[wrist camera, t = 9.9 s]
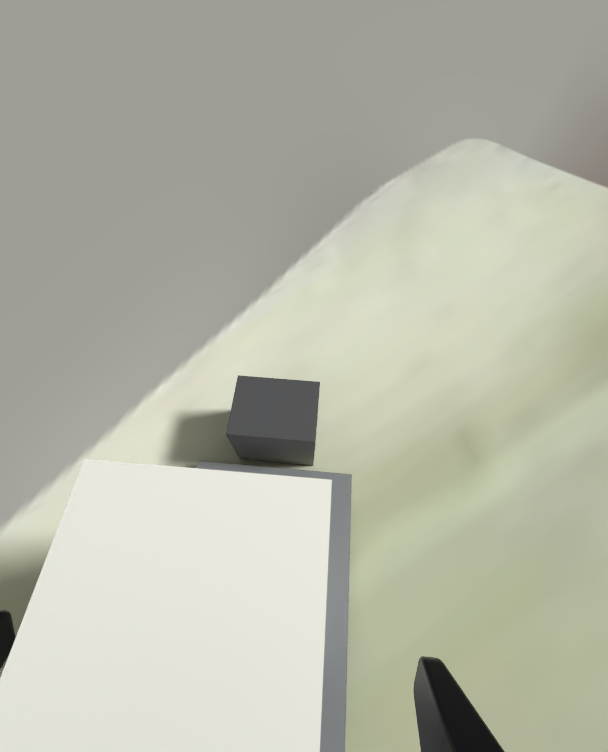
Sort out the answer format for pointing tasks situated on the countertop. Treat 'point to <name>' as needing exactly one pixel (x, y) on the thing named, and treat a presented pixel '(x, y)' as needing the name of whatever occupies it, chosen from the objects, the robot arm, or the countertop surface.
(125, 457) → the countertop surface
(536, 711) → the countertop surface
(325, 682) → the charging dock
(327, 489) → the brick
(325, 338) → the countertop surface
